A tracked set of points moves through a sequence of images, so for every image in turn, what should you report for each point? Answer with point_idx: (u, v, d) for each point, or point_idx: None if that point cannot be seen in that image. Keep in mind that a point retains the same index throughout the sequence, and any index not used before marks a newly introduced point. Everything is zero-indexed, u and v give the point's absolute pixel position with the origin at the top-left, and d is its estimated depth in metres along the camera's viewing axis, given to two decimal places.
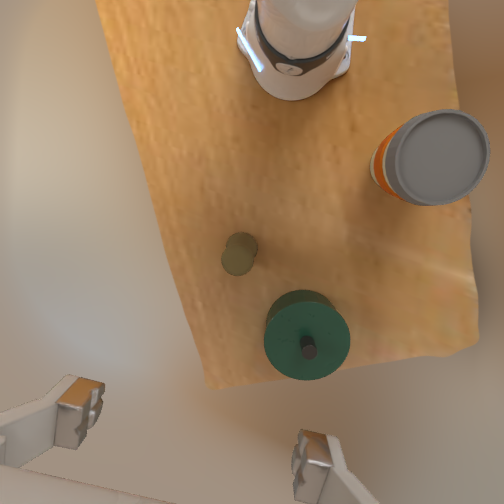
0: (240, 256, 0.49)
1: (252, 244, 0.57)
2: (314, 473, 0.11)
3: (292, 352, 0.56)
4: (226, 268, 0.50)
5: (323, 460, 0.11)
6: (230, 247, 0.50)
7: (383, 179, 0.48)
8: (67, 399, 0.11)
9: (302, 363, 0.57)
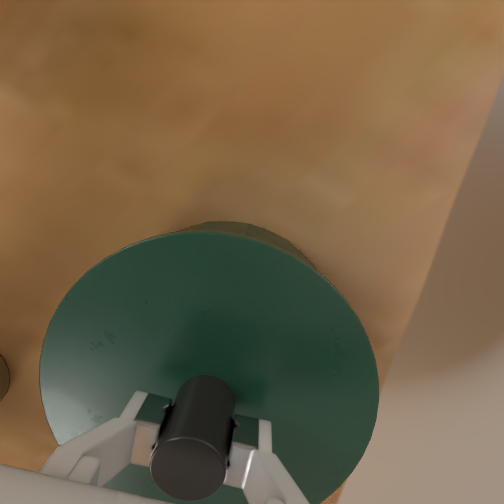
0: None
1: None
2: (239, 456, 0.11)
3: None
4: None
5: (249, 443, 0.11)
6: None
7: None
8: (143, 417, 0.11)
9: (283, 449, 0.14)
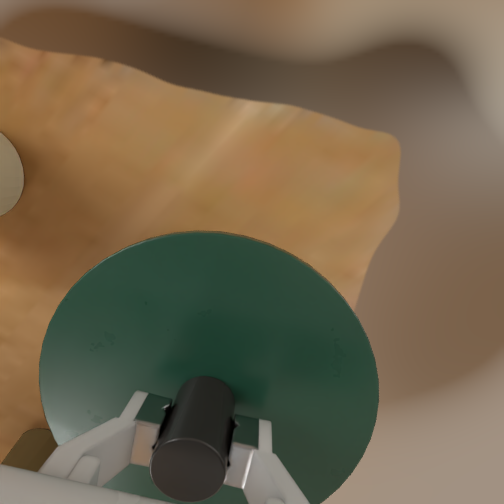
0: None
1: (15, 457, 0.33)
2: (239, 456, 0.11)
3: None
4: None
5: (249, 443, 0.11)
6: None
7: None
8: (143, 417, 0.11)
9: (282, 449, 0.14)
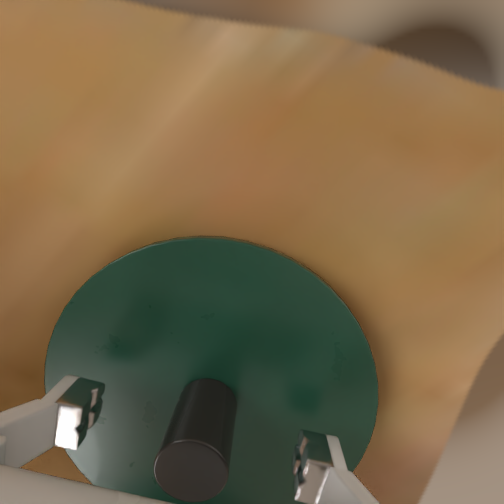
0: None
1: None
2: (314, 473, 0.11)
3: None
4: None
5: (323, 460, 0.11)
6: None
7: None
8: (66, 399, 0.11)
9: (283, 450, 0.15)
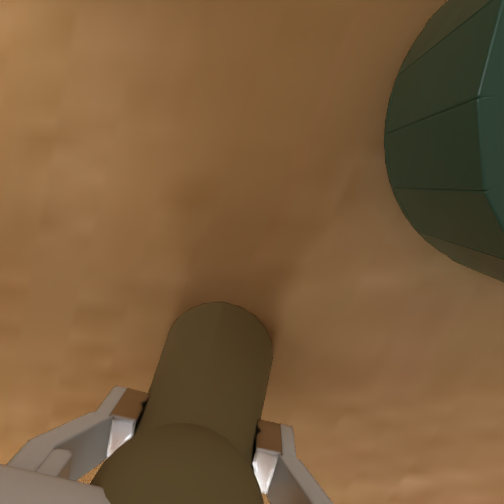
0: None
1: (176, 347, 0.14)
2: (263, 461, 0.11)
3: None
4: None
5: (273, 448, 0.11)
6: None
7: None
8: (120, 411, 0.11)
9: None
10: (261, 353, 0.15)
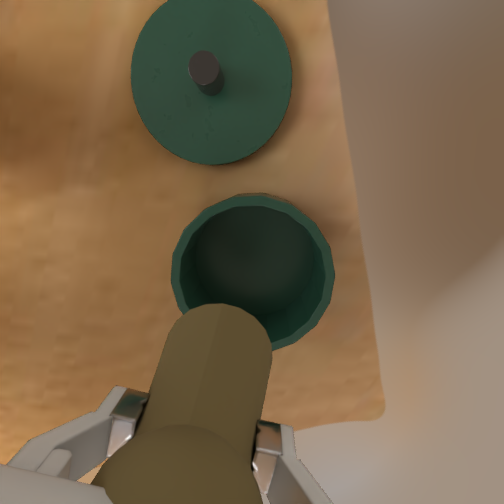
0: None
1: (176, 348, 0.14)
2: (263, 461, 0.11)
3: (232, 109, 0.30)
4: None
5: (273, 448, 0.11)
6: None
7: None
8: (119, 411, 0.11)
9: (255, 87, 0.29)
10: (261, 354, 0.15)
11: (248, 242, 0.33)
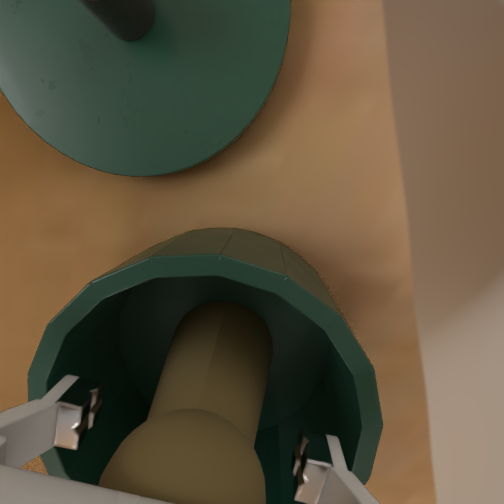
0: None
1: (184, 342, 0.15)
2: (314, 473, 0.11)
3: (173, 68, 0.15)
4: None
5: (323, 460, 0.11)
6: None
7: None
8: (67, 399, 0.11)
9: (216, 24, 0.15)
10: (263, 348, 0.17)
11: None
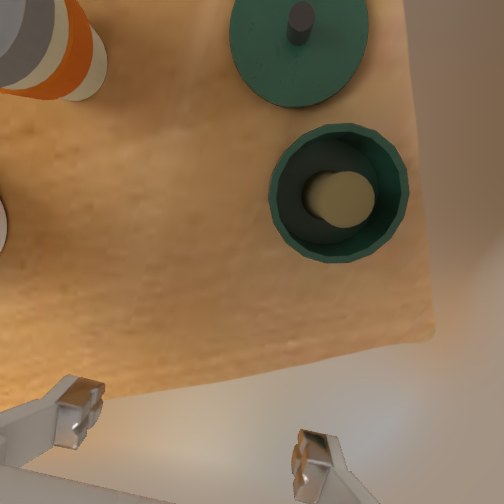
0: (339, 194, 0.28)
1: (320, 176, 0.35)
2: (314, 473, 0.11)
3: (315, 57, 0.35)
4: (359, 219, 0.29)
5: (323, 460, 0.11)
6: (322, 211, 0.29)
7: (43, 84, 0.29)
8: (67, 399, 0.11)
9: (336, 38, 0.34)
10: None
11: None
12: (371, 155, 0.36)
